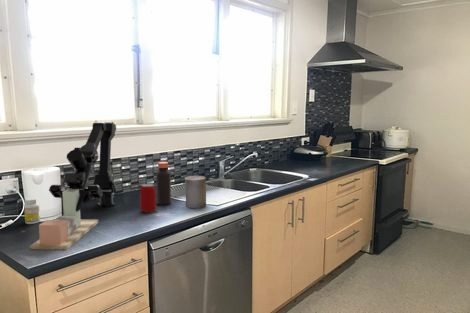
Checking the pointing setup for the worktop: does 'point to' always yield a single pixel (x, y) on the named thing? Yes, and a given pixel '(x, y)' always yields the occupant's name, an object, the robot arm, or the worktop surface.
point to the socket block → (53, 232)
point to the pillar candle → (195, 191)
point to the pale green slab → (71, 204)
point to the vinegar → (163, 184)
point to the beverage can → (147, 198)
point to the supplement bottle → (31, 211)
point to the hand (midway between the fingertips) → (70, 211)
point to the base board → (71, 231)
